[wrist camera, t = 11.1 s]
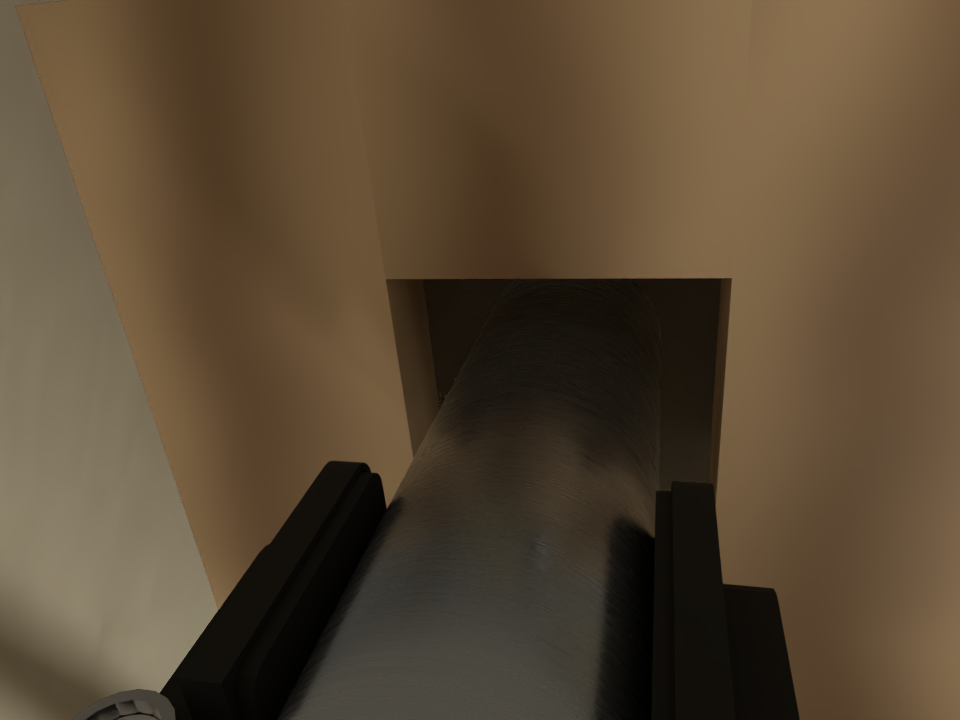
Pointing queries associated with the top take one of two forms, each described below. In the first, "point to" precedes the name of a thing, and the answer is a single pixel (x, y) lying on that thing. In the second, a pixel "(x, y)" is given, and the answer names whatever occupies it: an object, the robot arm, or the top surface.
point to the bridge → (552, 260)
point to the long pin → (515, 531)
